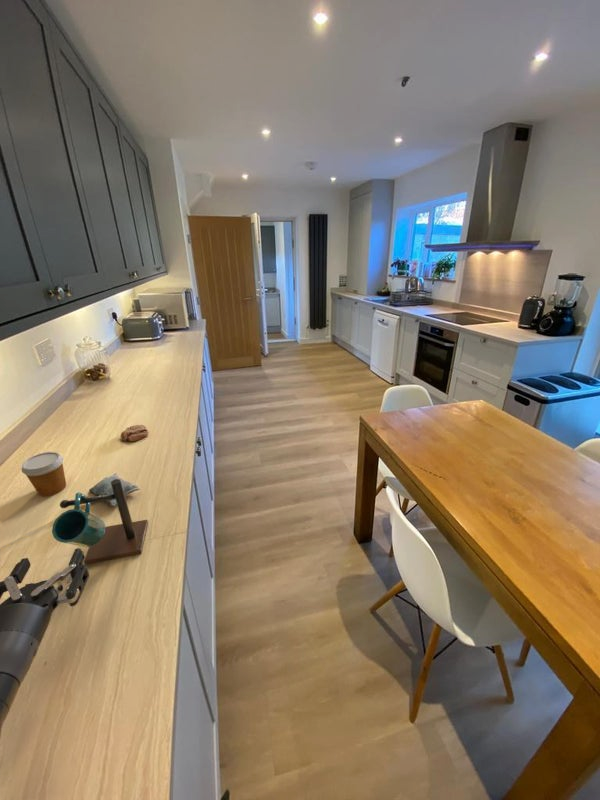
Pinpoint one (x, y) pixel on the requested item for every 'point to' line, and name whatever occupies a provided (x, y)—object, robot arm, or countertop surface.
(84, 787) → the countertop surface
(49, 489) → the disposable coffee cup
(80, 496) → the mug
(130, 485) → the grey bean bag
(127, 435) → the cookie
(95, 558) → the mug stand
